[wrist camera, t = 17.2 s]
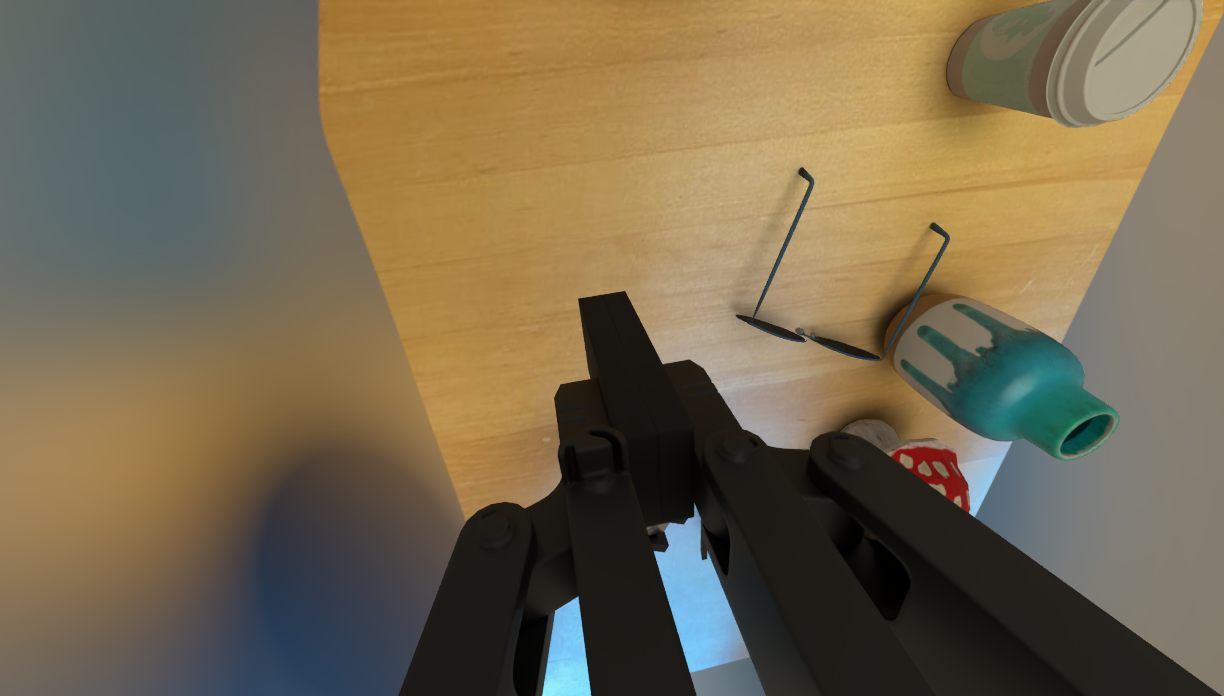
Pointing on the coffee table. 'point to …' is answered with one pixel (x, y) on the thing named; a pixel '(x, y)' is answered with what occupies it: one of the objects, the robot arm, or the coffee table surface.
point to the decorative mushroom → (918, 458)
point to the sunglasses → (825, 342)
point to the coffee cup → (1076, 57)
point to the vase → (998, 376)
